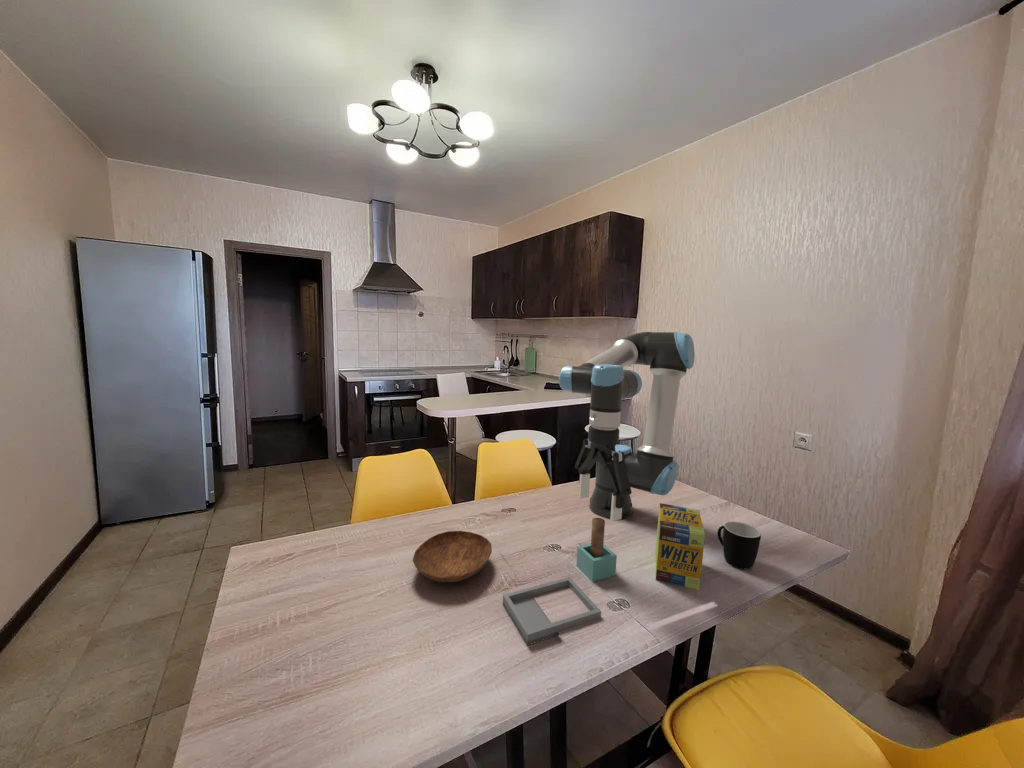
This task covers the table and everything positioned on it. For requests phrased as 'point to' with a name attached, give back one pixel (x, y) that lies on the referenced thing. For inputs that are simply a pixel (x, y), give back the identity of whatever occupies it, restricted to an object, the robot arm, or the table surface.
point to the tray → (534, 619)
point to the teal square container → (596, 563)
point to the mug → (739, 544)
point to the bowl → (452, 556)
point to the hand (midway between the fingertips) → (598, 507)
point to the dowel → (597, 537)
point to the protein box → (679, 546)
